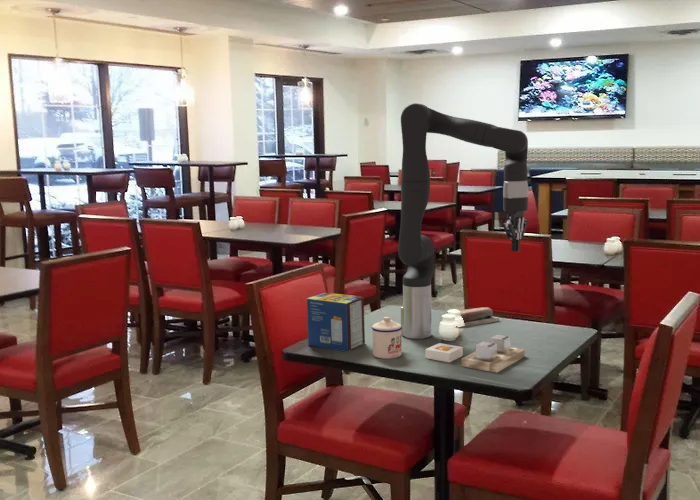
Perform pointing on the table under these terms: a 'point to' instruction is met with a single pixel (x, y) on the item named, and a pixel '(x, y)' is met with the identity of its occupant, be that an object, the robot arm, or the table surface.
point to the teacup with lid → (387, 339)
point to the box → (444, 352)
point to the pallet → (498, 364)
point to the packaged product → (478, 316)
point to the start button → (444, 348)
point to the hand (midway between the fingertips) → (515, 251)
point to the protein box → (336, 321)
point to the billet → (502, 343)
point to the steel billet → (486, 352)
